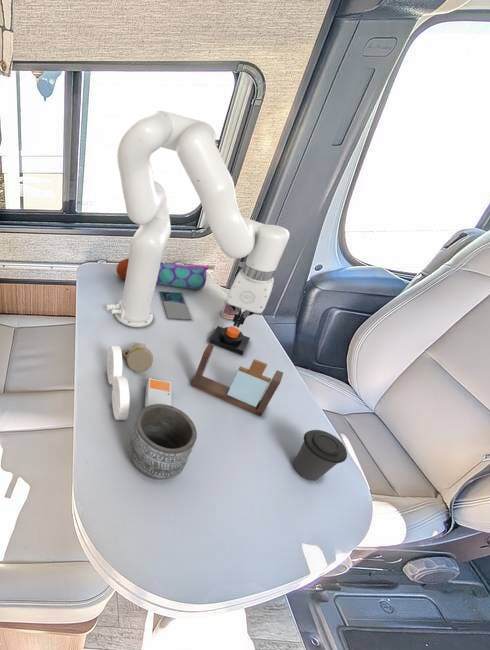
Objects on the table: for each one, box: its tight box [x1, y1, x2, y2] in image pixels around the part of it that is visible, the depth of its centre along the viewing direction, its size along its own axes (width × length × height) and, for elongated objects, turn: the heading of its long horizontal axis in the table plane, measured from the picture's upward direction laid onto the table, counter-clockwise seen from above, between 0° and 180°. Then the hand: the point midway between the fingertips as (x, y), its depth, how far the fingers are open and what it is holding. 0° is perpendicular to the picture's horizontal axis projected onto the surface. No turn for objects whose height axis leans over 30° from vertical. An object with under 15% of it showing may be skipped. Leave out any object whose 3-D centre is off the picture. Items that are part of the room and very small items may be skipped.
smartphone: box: [160, 291, 192, 321], centre depth 137 cm, size 8×1×16 cm
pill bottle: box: [221, 302, 235, 320], centre depth 131 cm, size 5×5×8 cm
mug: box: [122, 342, 154, 373], centre depth 111 cm, size 8×10×10 cm
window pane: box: [227, 358, 272, 407], centre depth 97 cm, size 7×1×13 cm, turn 55°
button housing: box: [208, 325, 251, 356], centre depth 121 cm, size 10×8×4 cm
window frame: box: [191, 343, 284, 417], centre depth 100 cm, size 18×4×12 cm, turn 55°
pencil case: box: [156, 260, 210, 290], centre depth 145 cm, size 21×9×10 cm, turn 76°
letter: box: [106, 345, 131, 421], centre depth 100 cm, size 22×2×10 cm, turn 0°
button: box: [226, 326, 241, 338], centre depth 119 cm, size 4×4×2 cm
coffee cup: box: [292, 429, 348, 482], centre depth 84 cm, size 8×8×10 cm
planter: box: [128, 404, 198, 481], centre depth 83 cm, size 12×12×13 cm
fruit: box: [116, 257, 129, 280], centre depth 148 cm, size 9×9×8 cm
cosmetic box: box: [144, 377, 173, 408], centre depth 99 cm, size 6×4×12 cm
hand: (237, 324), depth 117 cm, fingers closed
